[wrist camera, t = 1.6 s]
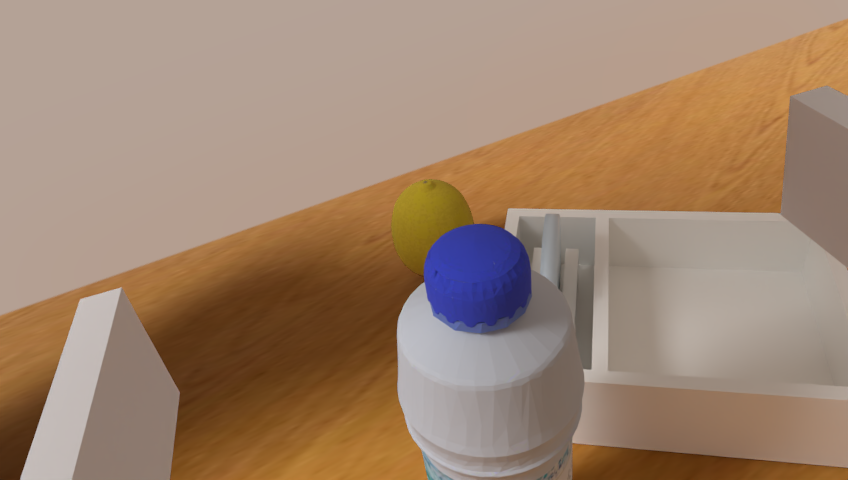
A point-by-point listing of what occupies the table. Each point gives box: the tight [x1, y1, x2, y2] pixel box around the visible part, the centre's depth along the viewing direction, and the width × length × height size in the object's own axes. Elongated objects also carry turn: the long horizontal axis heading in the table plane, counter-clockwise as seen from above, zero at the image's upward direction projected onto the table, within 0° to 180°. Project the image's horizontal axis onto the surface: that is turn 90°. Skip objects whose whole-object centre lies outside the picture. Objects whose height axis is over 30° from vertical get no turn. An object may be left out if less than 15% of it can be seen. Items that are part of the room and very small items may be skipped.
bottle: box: [397, 224, 585, 480], centre depth 29 cm, size 7×7×20 cm
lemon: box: [391, 179, 474, 277], centre depth 49 cm, size 6×6×8 cm
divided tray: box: [505, 208, 848, 468], centre depth 41 cm, size 19×14×9 cm
